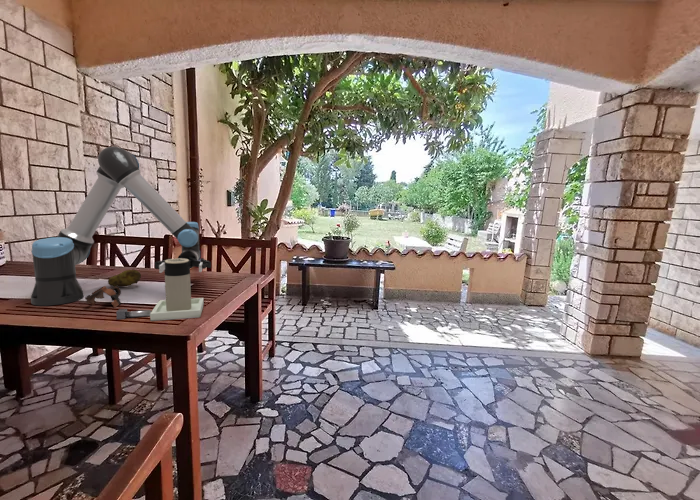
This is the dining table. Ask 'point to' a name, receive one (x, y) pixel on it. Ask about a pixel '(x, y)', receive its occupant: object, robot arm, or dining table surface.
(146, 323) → the dining table surface
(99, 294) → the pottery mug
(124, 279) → the olive green oval lump
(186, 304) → the travel mug
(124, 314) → the metal bolt
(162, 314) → the tray
